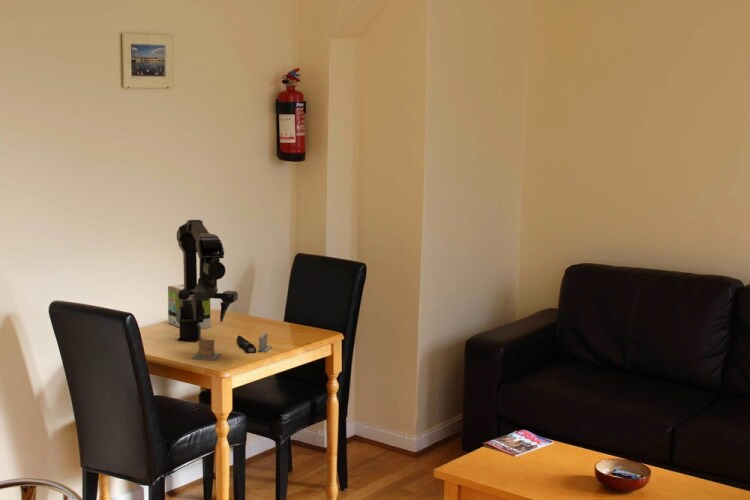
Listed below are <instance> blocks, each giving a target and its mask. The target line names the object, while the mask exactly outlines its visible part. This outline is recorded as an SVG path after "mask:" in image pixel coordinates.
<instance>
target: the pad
mask: <svg viewBox="0 0 750 500" xmlns="http://www.w3.org/2000/svg"><path fill="white" fill-rule="evenodd" d="M222 355H223V353H219V352H214V355H213V356H212V357H211V358H209V357H199V351H198V352H197V353H195V354H194V355H193V356H191V357H190V359H191V360H200V361H201V360H204V361H216V360H217V359H219V358H220V357H222Z"/></svg>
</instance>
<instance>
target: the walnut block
mask: <svg viewBox="0 0 750 500" xmlns="http://www.w3.org/2000/svg"><path fill="white" fill-rule="evenodd" d="M198 352H199V357H209V358H211V357H212V356H213V355H214V353H215V339H208V338H207V339H205V338H204V339H203V338H202V339H201V340H199V341H198Z"/></svg>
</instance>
